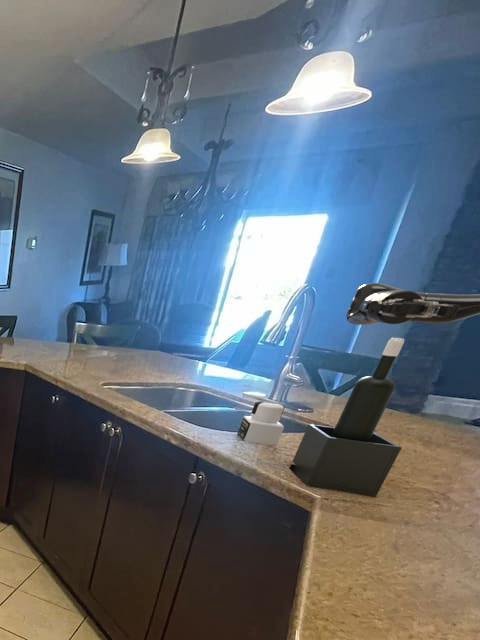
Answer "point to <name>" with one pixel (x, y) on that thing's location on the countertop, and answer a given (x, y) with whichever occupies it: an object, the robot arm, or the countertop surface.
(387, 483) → the countertop surface
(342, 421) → the wine bottle
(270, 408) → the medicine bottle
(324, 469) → the bin
